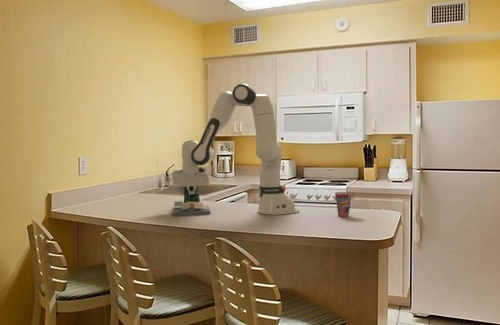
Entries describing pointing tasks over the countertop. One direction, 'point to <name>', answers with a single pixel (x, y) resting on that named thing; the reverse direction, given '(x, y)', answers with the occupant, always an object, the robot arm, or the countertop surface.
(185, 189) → the coffee jar
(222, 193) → the countertop surface
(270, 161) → the robot arm
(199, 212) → the keypad board
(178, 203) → the key
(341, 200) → the cup
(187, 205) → the key
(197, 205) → the key
